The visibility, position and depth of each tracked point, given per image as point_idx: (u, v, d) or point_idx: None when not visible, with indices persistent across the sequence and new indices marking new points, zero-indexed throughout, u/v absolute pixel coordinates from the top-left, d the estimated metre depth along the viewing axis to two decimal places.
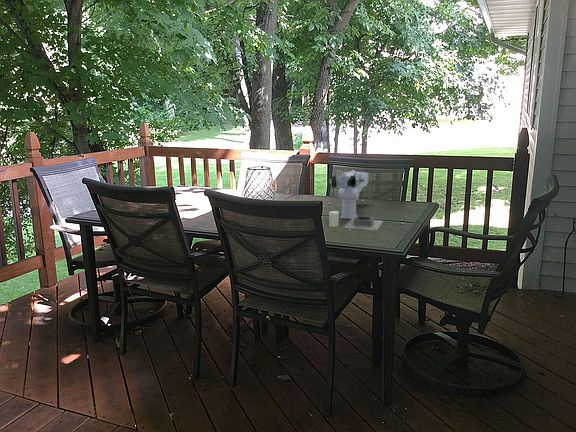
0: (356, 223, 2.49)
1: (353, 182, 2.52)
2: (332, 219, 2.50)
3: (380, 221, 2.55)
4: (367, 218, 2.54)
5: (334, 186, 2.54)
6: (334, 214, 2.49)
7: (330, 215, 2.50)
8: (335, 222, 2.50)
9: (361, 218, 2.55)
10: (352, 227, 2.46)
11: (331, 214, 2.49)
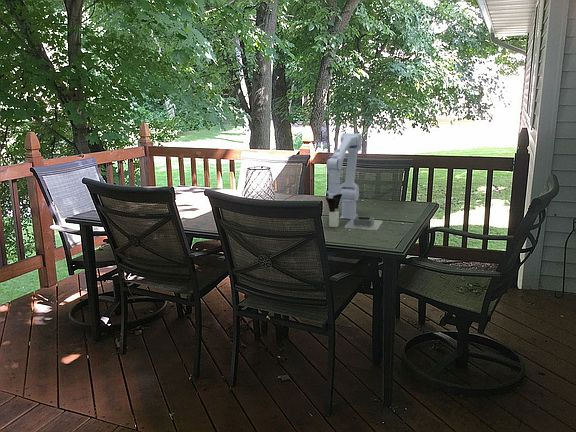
0: (356, 223, 2.49)
1: None
2: (332, 219, 2.50)
3: (380, 221, 2.55)
4: (367, 218, 2.54)
5: (340, 198, 2.53)
6: (334, 214, 2.49)
7: (330, 215, 2.50)
8: (335, 222, 2.50)
9: (361, 218, 2.55)
10: (352, 227, 2.46)
11: (331, 214, 2.49)
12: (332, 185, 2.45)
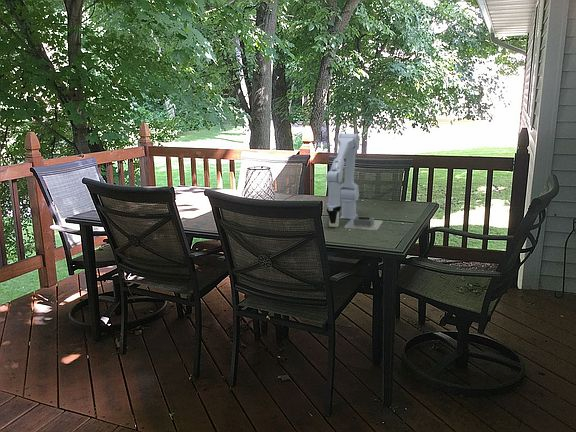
0: (356, 223, 2.49)
1: None
2: None
3: (380, 221, 2.55)
4: (367, 218, 2.54)
5: (339, 210, 2.53)
6: None
7: None
8: (335, 222, 2.50)
9: (361, 218, 2.55)
10: (352, 227, 2.46)
11: None
12: (332, 197, 2.47)
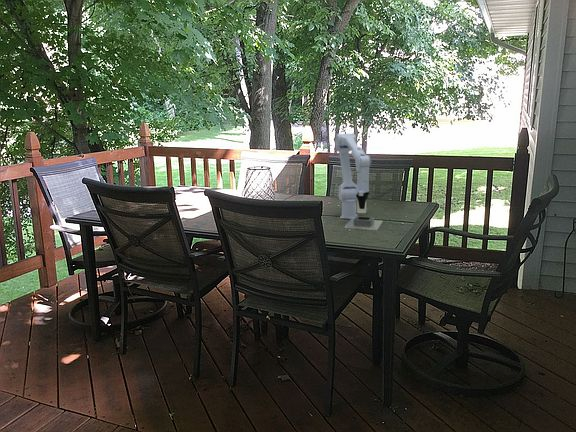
0: (356, 223, 2.49)
1: (362, 196, 2.46)
2: None
3: (380, 221, 2.55)
4: (367, 218, 2.54)
5: (367, 196, 2.51)
6: None
7: None
8: None
9: (361, 218, 2.55)
10: (352, 227, 2.46)
11: None
12: (361, 183, 2.45)
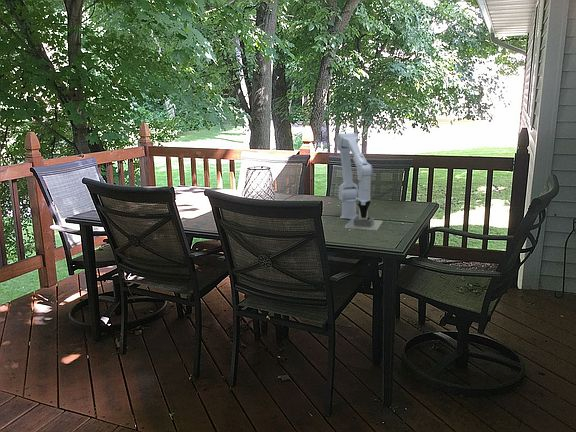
0: (356, 223, 2.49)
1: None
2: None
3: (380, 221, 2.55)
4: None
5: None
6: None
7: None
8: None
9: None
10: (352, 227, 2.46)
11: None
12: (363, 192, 2.46)
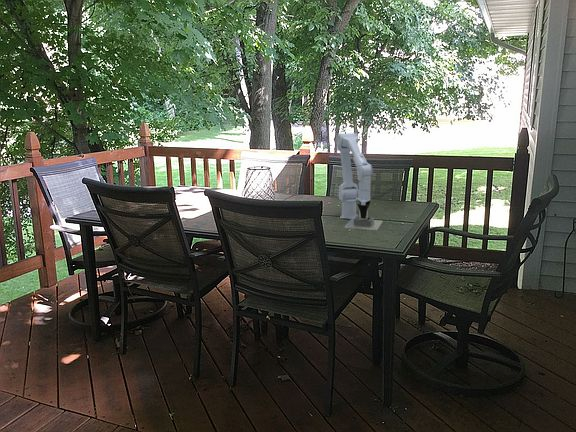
0: (356, 223, 2.49)
1: None
2: None
3: (380, 221, 2.55)
4: None
5: None
6: None
7: None
8: (365, 219, 2.50)
9: None
10: (352, 227, 2.46)
11: None
12: (363, 192, 2.46)
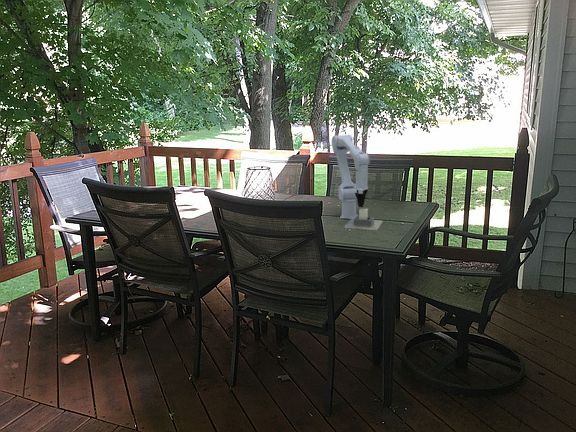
0: (356, 223, 2.49)
1: (361, 194, 2.47)
2: (362, 217, 2.50)
3: (380, 221, 2.55)
4: None
5: (366, 193, 2.56)
6: (364, 211, 2.49)
7: (360, 212, 2.49)
8: (365, 219, 2.50)
9: None
10: (352, 227, 2.46)
11: (361, 211, 2.49)
12: (361, 180, 2.48)
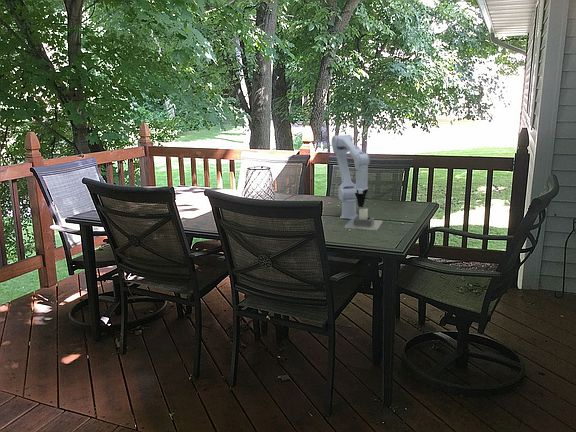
0: (356, 223, 2.49)
1: (361, 194, 2.47)
2: (362, 217, 2.50)
3: (380, 221, 2.55)
4: None
5: (366, 193, 2.56)
6: (364, 211, 2.49)
7: (360, 212, 2.49)
8: (365, 219, 2.50)
9: None
10: (352, 227, 2.46)
11: (361, 211, 2.49)
12: (361, 180, 2.48)
